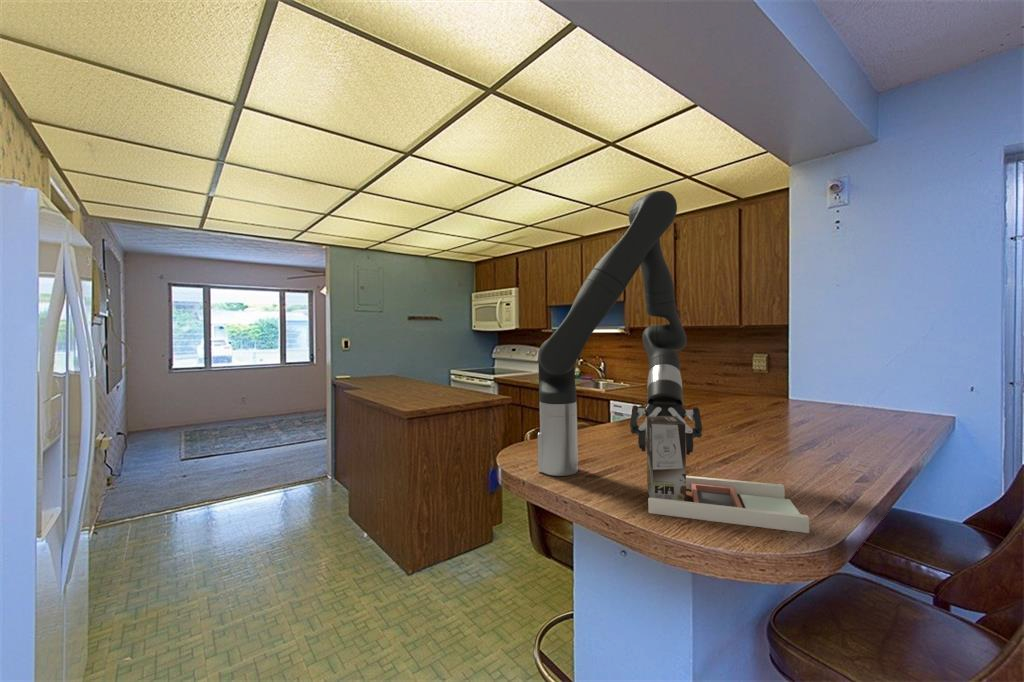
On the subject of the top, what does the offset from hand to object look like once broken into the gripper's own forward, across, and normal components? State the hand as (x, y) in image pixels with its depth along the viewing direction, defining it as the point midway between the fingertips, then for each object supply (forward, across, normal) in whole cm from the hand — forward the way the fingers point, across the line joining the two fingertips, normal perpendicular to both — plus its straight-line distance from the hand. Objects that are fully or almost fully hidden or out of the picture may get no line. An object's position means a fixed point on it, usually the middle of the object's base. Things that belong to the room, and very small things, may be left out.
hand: (665, 451), depth 83 cm
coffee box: (+7, 0, +6) cm, 10 cm away
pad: (+7, +18, +6) cm, 21 cm away
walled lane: (+7, +9, +6) cm, 13 cm away
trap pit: (+7, +9, +6) cm, 13 cm away
